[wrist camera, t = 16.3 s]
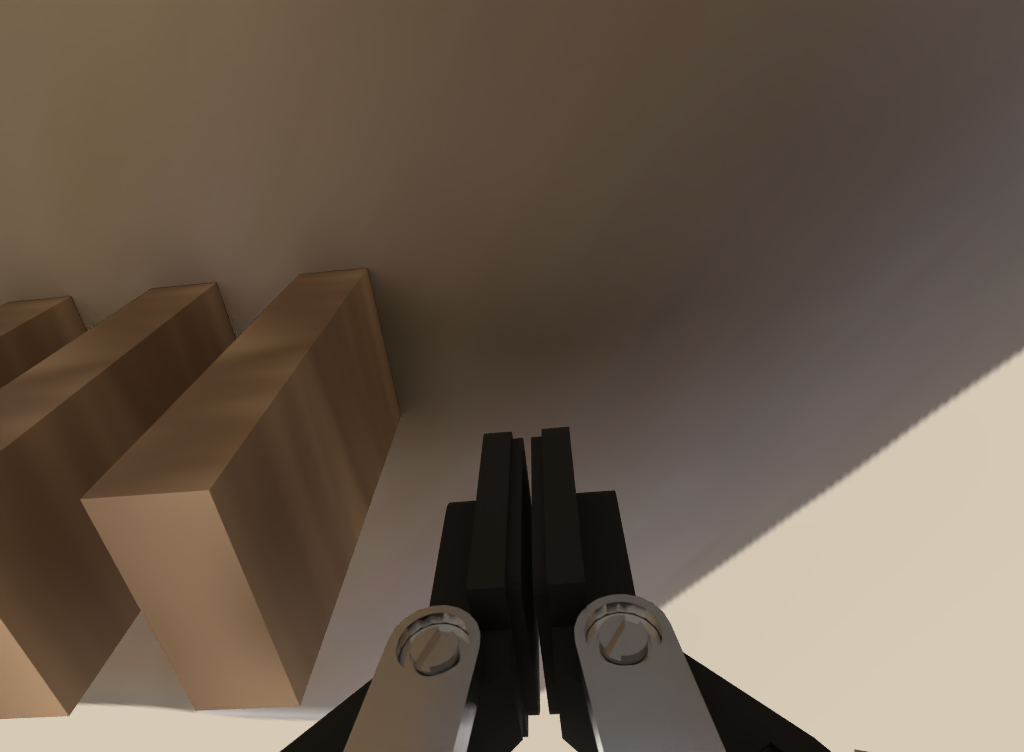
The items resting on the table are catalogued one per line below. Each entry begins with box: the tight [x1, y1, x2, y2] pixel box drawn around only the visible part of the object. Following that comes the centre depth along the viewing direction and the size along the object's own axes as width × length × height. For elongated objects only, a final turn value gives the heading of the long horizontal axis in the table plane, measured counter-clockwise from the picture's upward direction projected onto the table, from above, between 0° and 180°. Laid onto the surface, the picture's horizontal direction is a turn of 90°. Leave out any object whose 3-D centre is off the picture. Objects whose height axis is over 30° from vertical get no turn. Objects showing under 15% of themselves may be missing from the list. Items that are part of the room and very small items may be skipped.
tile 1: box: [80, 268, 401, 711], centre depth 15 cm, size 2×5×10 cm, turn 6°
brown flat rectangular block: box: [0, 283, 236, 719], centre depth 15 cm, size 2×5×10 cm, turn 6°
